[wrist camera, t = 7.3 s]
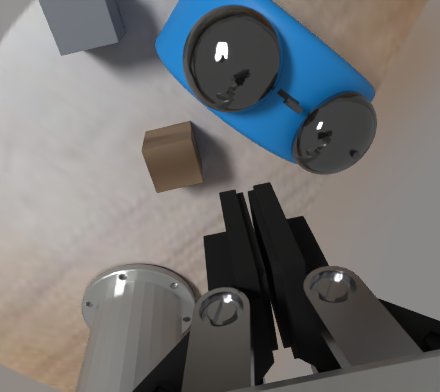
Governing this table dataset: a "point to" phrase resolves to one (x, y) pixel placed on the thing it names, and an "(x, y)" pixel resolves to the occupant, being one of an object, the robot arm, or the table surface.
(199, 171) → the walnut block
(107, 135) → the table surface
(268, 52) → the alarm clock
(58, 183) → the table surface
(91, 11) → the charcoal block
